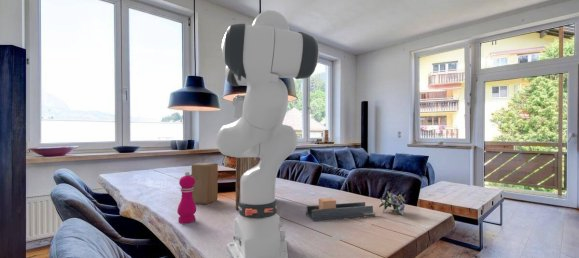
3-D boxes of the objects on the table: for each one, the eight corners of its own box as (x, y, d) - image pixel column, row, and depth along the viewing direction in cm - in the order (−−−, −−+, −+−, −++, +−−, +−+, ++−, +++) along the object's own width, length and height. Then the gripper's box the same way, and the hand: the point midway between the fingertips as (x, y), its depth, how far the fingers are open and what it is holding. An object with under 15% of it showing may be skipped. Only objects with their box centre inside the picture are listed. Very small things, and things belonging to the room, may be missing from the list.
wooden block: (190, 203, 134) (190, 164, 134) (202, 198, 143) (202, 162, 144) (207, 204, 131) (207, 164, 131) (218, 200, 141) (218, 162, 141)
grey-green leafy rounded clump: (401, 227, 116) (406, 209, 109) (375, 219, 119) (379, 202, 113) (403, 207, 124) (408, 190, 117) (379, 201, 128) (382, 184, 121)
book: (253, 211, 120) (254, 146, 121) (235, 209, 123) (235, 145, 123) (271, 198, 145) (271, 143, 145) (255, 197, 147) (255, 143, 148)
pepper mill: (190, 216, 112) (190, 170, 112) (199, 220, 107) (200, 171, 108) (173, 221, 106) (174, 171, 107) (183, 225, 102) (183, 173, 102)
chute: (313, 221, 107) (313, 211, 107) (306, 214, 116) (306, 205, 116) (374, 216, 114) (374, 206, 114) (362, 209, 123) (362, 201, 123)
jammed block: (322, 215, 110) (322, 201, 110) (318, 212, 115) (318, 198, 115) (336, 214, 112) (336, 200, 112) (331, 211, 117) (331, 197, 117)
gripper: (233, 94, 103) (232, 129, 104) (284, 96, 108) (283, 130, 109) (232, 95, 109) (232, 128, 110) (280, 97, 114) (279, 128, 115)
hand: (257, 129), depth 110 cm, fingers open, 8 cm apart
